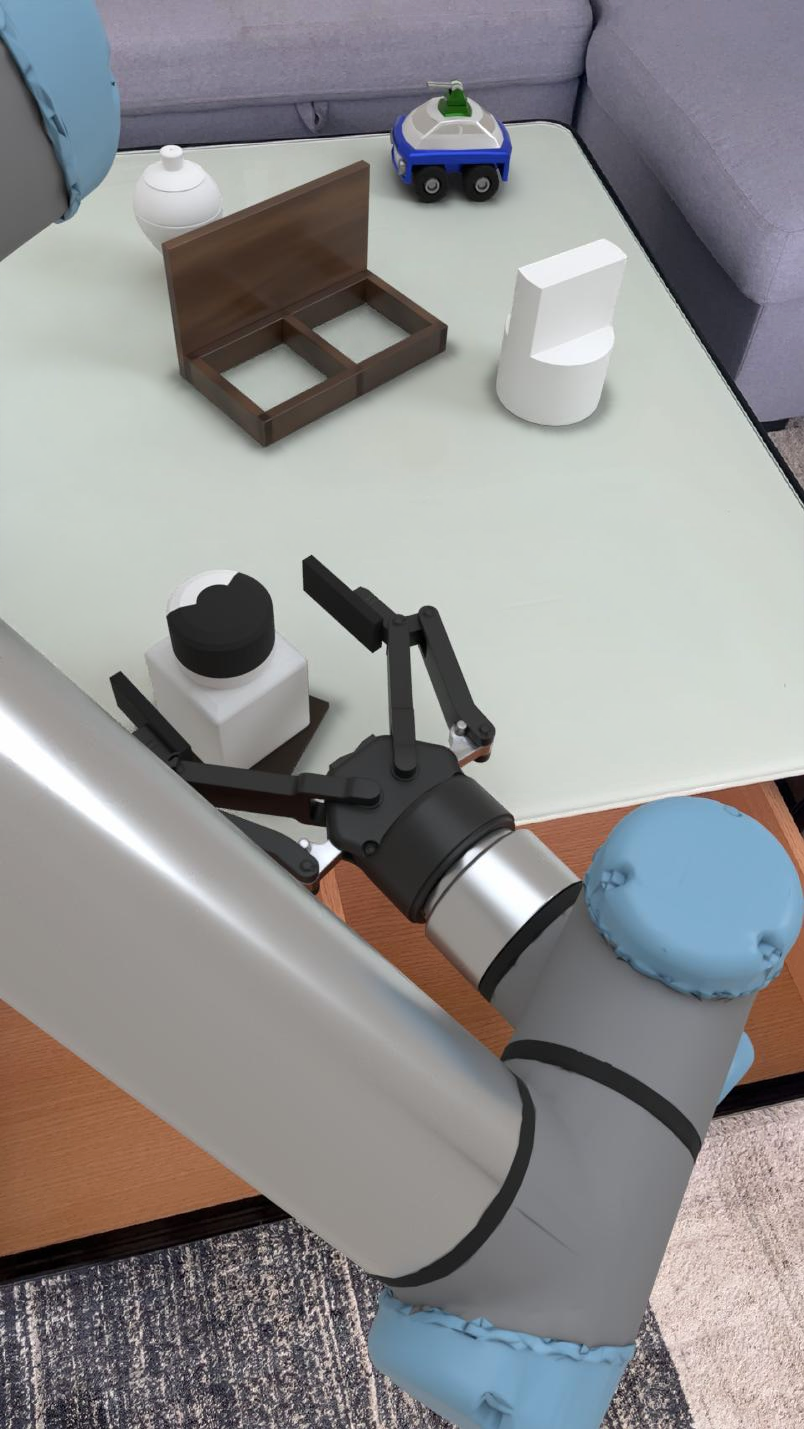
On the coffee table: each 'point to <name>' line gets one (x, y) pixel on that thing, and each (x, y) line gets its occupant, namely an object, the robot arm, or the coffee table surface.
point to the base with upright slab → (561, 334)
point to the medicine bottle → (228, 671)
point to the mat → (291, 743)
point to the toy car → (450, 145)
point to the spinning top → (175, 197)
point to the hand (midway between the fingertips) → (216, 627)
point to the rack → (288, 300)
